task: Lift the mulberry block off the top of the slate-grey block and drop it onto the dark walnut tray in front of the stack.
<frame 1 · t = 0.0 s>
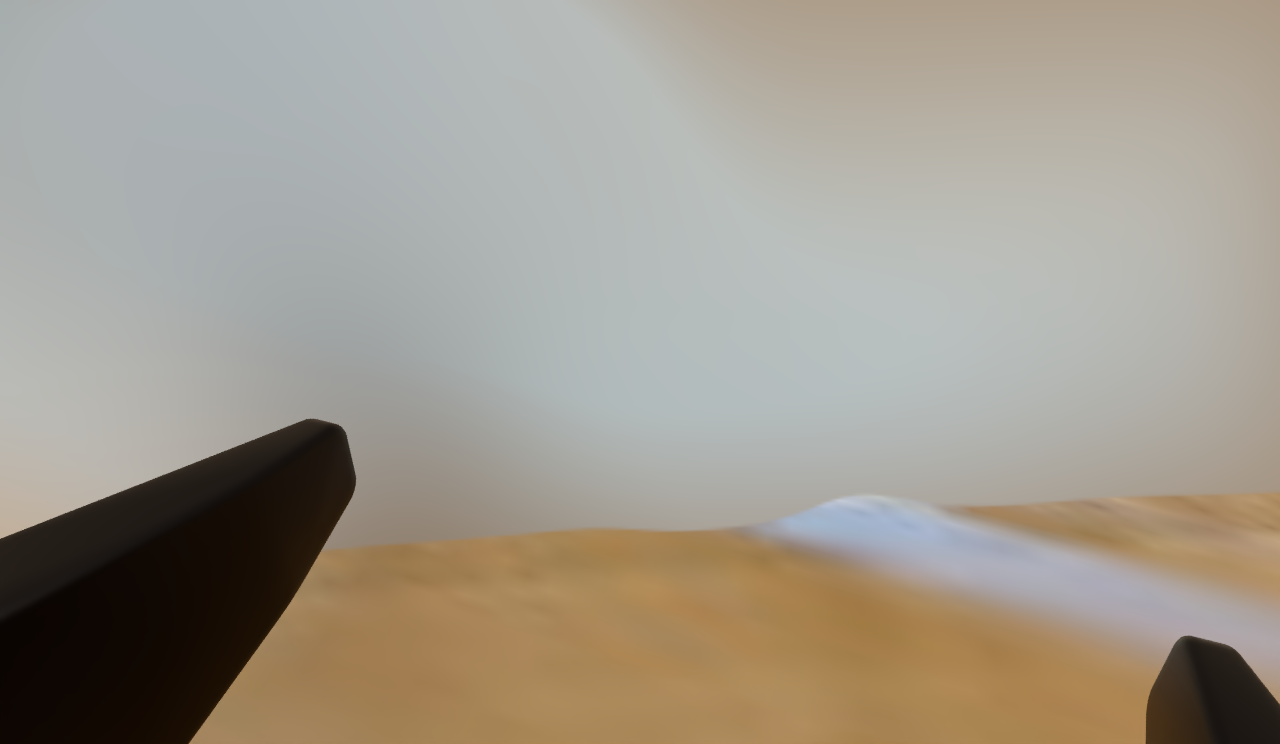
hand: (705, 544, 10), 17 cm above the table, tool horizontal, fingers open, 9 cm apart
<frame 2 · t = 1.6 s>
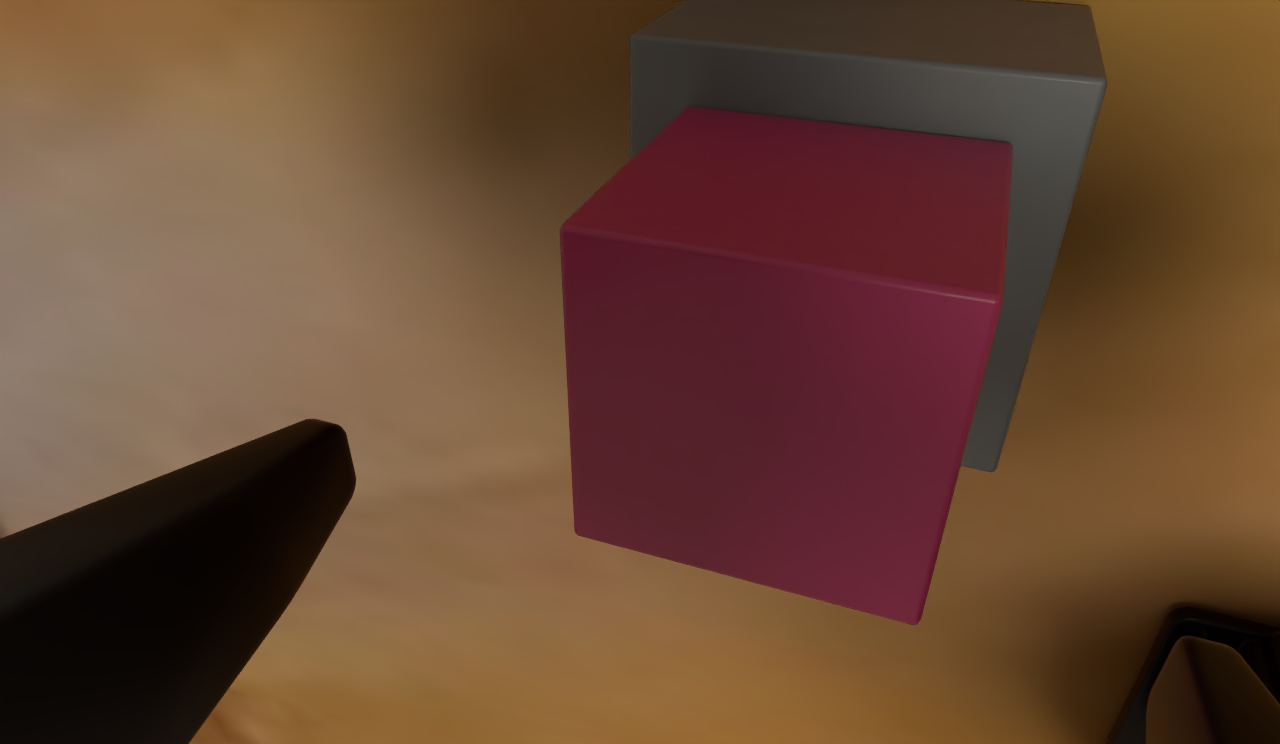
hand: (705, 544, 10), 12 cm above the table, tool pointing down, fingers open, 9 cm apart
base block: (867, 167, 19), on the table, touching top block
top block: (822, 268, 15), point 5 cm above the table, touching base block
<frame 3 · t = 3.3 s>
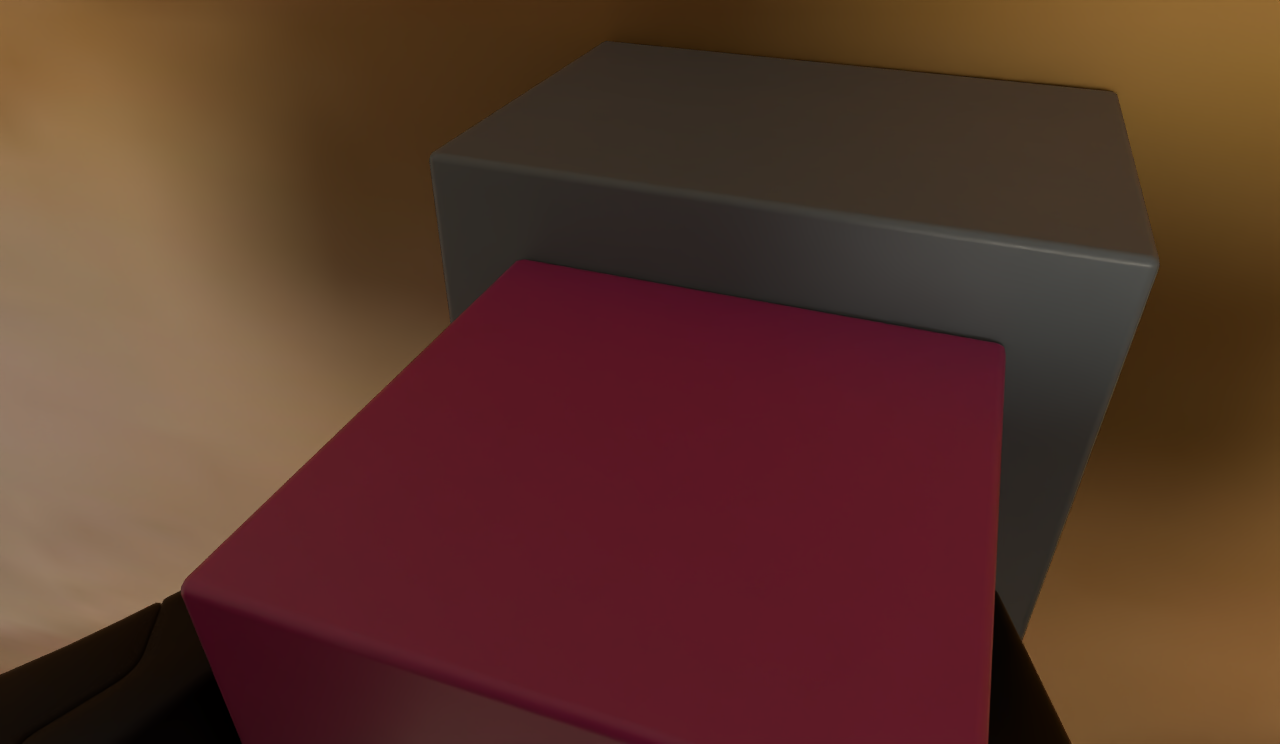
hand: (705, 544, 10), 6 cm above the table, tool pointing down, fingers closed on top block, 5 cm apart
base block: (812, 287, 14), on the table, touching top block
top block: (728, 484, 10), point 5 cm above the table, touching base block, gripper
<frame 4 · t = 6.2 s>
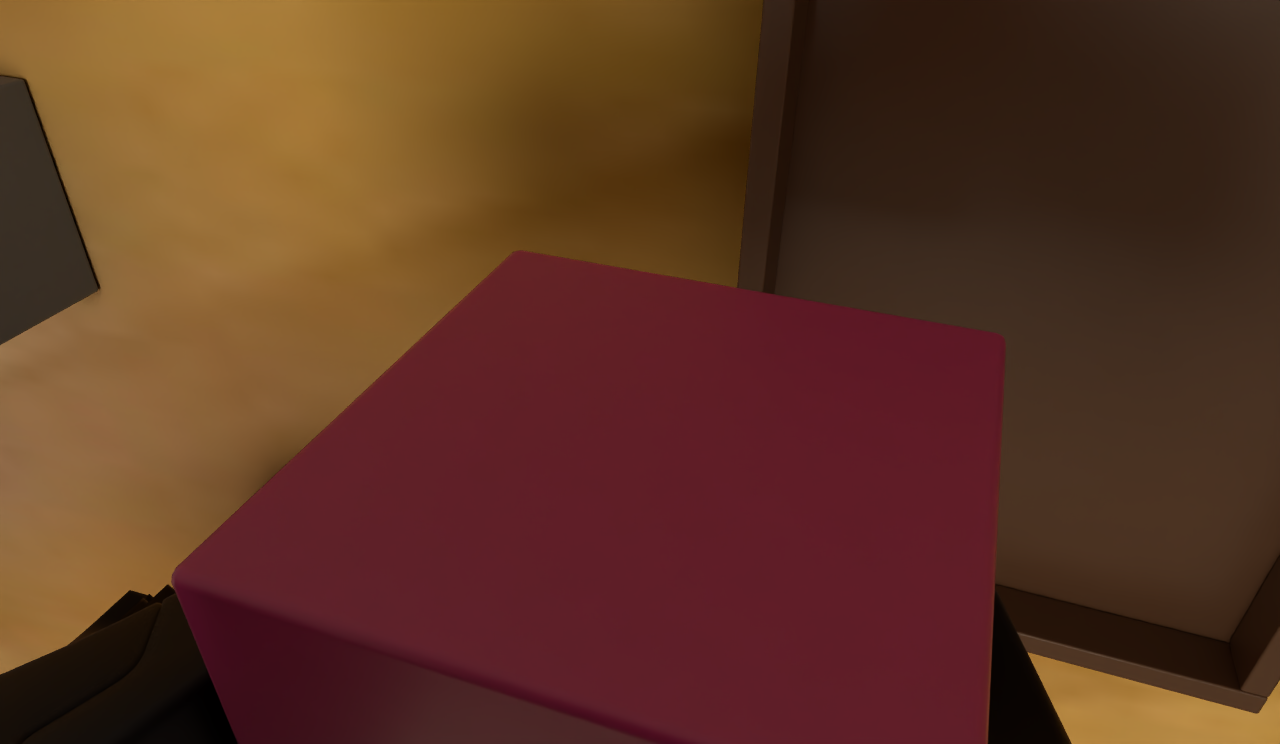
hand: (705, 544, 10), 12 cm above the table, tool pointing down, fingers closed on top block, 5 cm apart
tray: (1083, 215, 18), on the table
top block: (727, 477, 10), point 11 cm above the table, touching gripper
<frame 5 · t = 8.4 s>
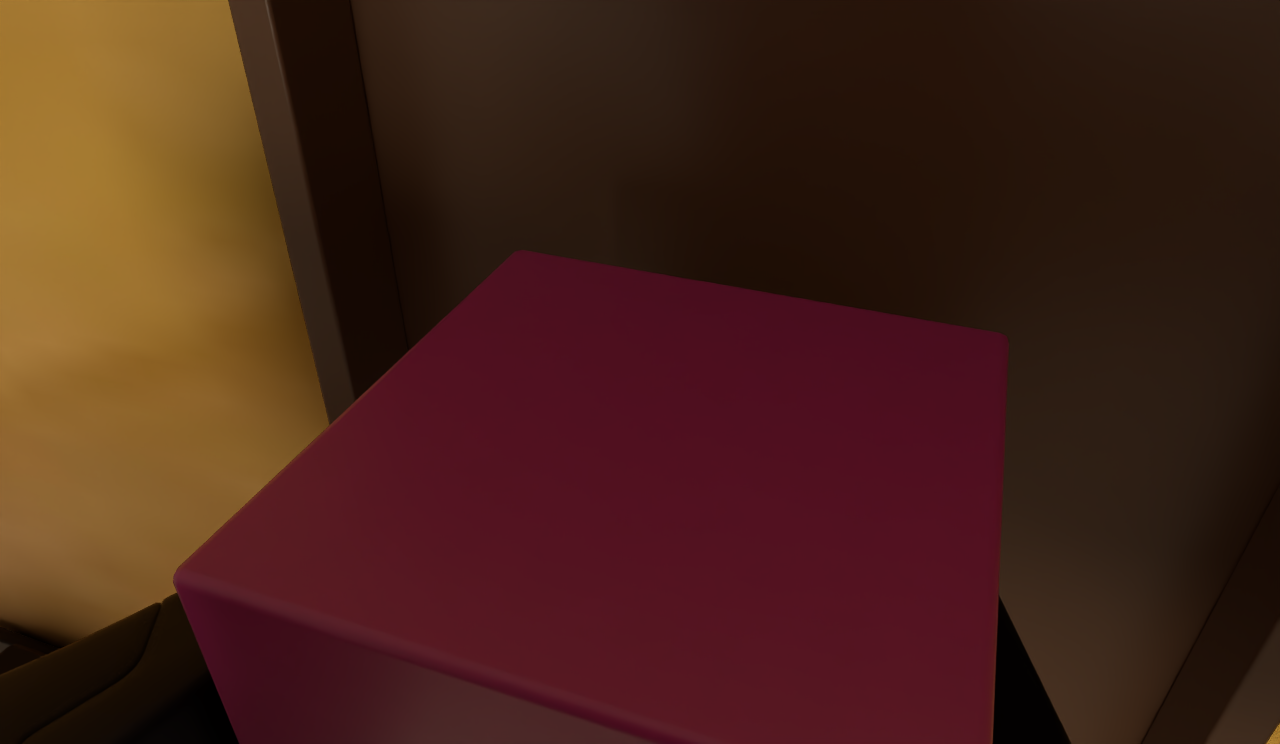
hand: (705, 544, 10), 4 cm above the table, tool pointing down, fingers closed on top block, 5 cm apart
tray: (782, 409, 13), on the table
top block: (729, 477, 10), point 3 cm above the table, touching gripper
when the fingers open (1 cm above the table, at t = 9.6 s): top block stays where it is, resting on tray.
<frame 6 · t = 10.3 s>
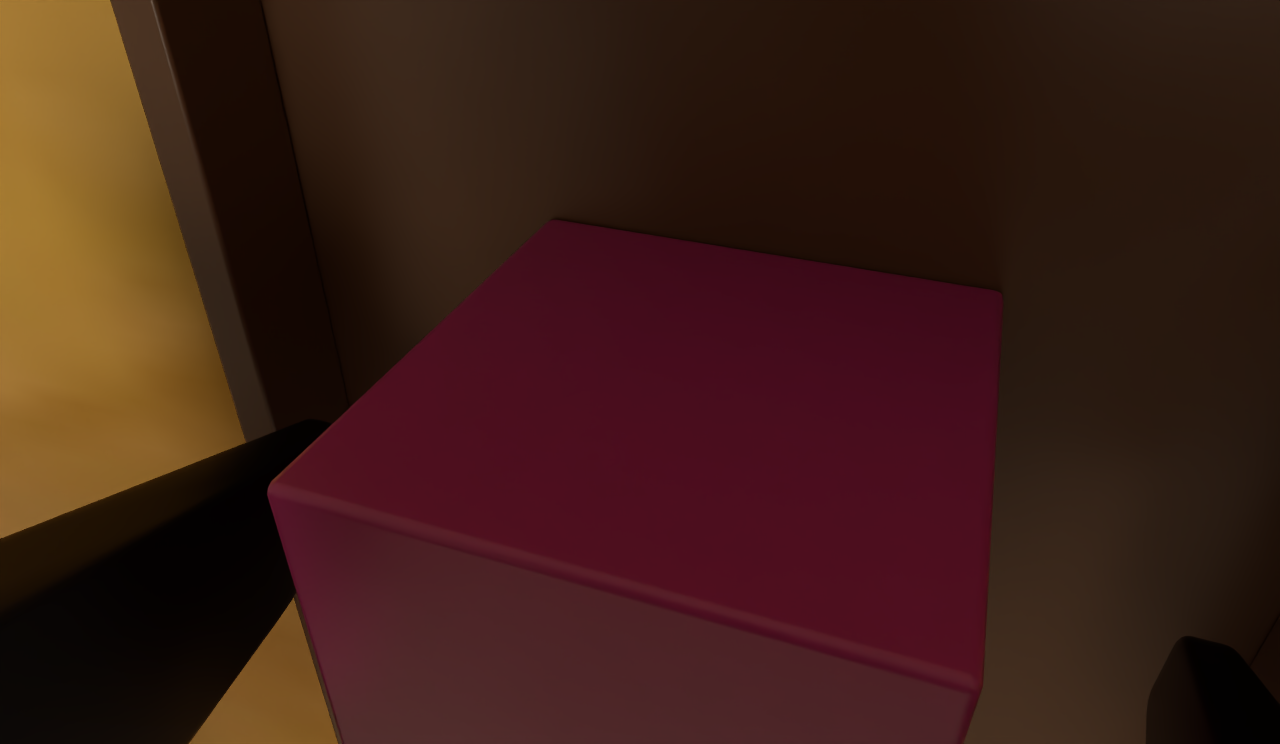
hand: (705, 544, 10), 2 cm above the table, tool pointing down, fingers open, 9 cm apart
tray: (753, 477, 12), on the table
top block: (744, 432, 11), resting on tray
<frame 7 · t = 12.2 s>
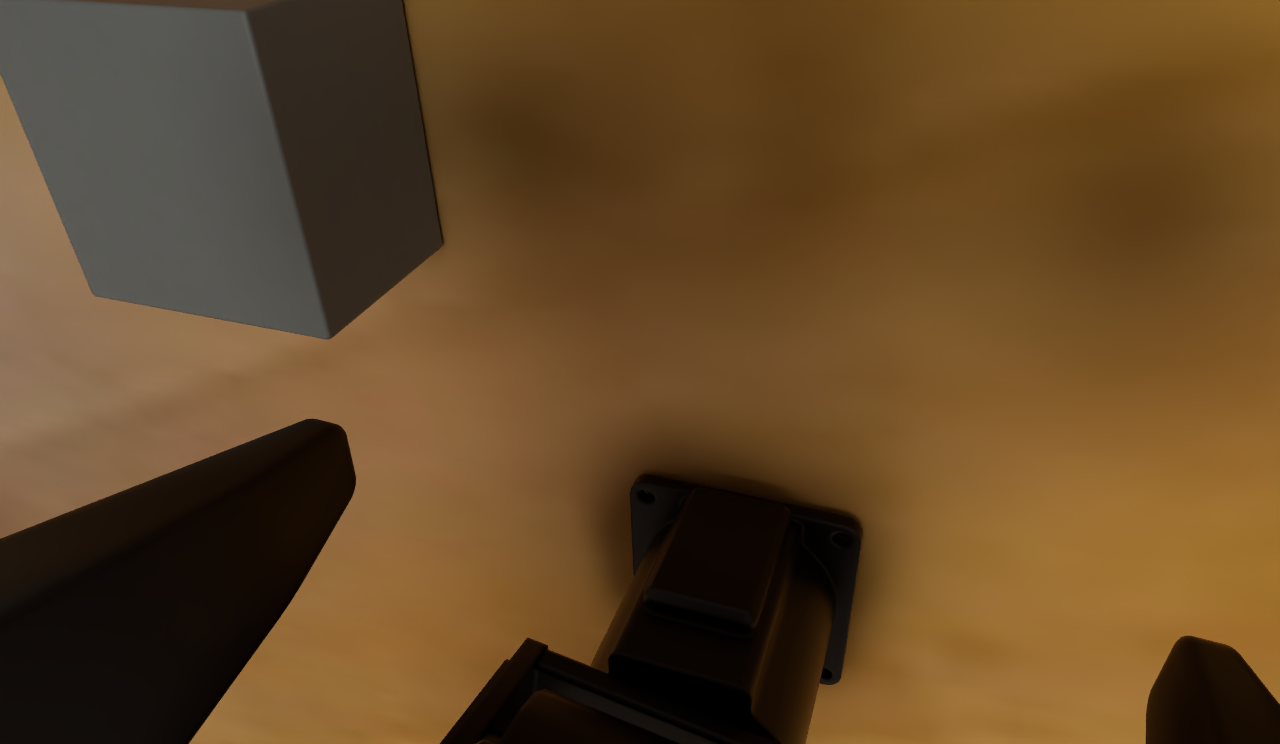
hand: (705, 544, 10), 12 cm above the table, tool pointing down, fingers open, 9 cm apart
base block: (303, 105, 23), on the table
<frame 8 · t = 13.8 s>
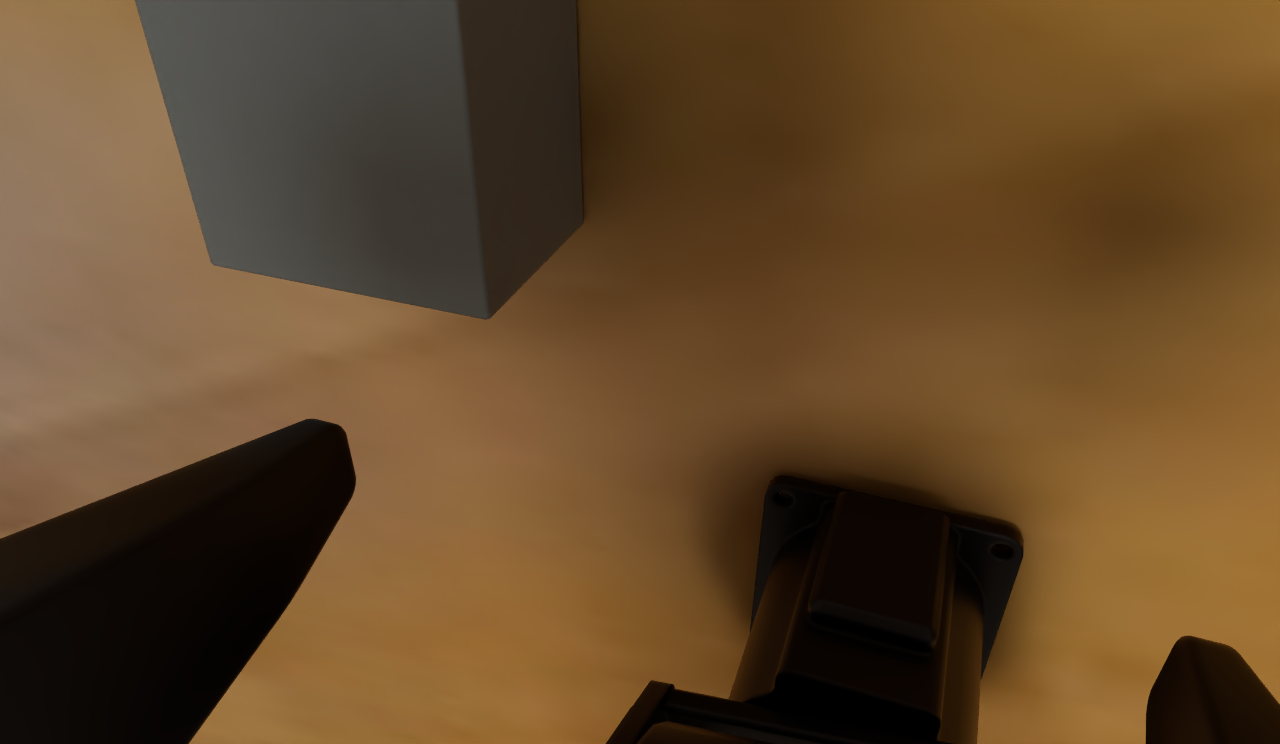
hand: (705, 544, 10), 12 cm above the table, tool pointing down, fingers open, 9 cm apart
base block: (442, 65, 21), on the table
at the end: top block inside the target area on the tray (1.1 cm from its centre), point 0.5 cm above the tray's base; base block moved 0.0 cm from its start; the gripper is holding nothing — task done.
